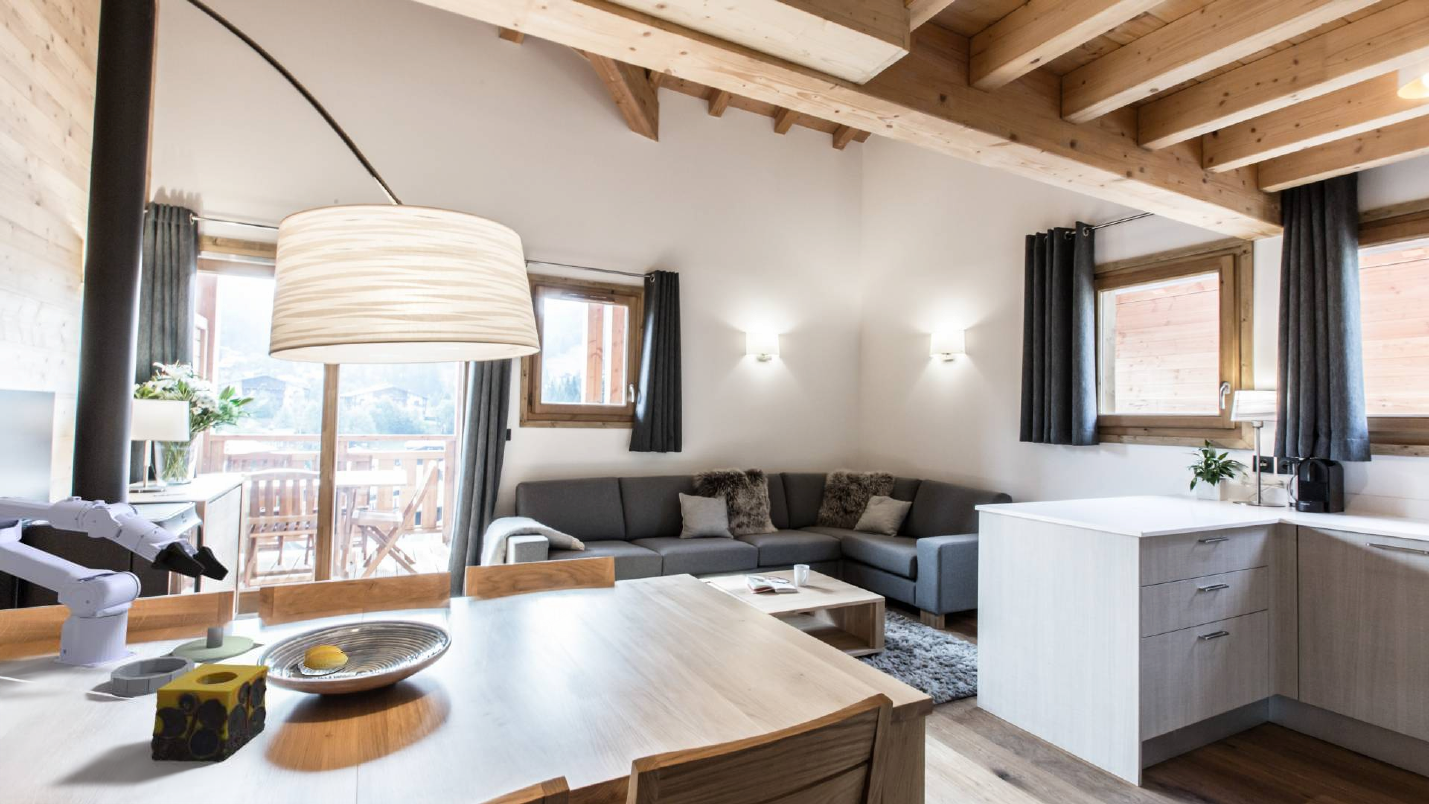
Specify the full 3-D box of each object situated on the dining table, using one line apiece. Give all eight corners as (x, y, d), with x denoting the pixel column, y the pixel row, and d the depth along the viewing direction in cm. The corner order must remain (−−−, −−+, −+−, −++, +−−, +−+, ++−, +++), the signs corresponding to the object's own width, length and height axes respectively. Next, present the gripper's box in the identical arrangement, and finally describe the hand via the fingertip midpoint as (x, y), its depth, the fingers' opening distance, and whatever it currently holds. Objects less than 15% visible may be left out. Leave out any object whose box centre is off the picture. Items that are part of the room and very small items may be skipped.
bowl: (93, 692, 114) (94, 674, 114) (158, 670, 125) (160, 653, 125) (145, 701, 112) (147, 682, 112) (208, 677, 122) (209, 660, 123)
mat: (159, 658, 130) (159, 656, 130) (216, 639, 142) (216, 637, 142) (210, 666, 128) (210, 664, 128) (265, 646, 140) (265, 644, 140)
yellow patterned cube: (197, 729, 103) (202, 662, 104) (266, 729, 104) (271, 664, 105) (147, 762, 93) (152, 688, 94) (224, 763, 94) (230, 690, 94)
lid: (154, 657, 130) (156, 634, 130) (217, 637, 143) (218, 616, 143) (210, 665, 127) (212, 641, 127) (269, 644, 140) (270, 622, 140)
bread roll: (302, 681, 124) (304, 659, 124) (294, 666, 130) (295, 645, 131) (353, 672, 129) (354, 650, 129) (341, 658, 136) (343, 638, 136)
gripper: (140, 517, 123) (204, 551, 123) (189, 527, 137) (247, 558, 136) (111, 552, 121) (177, 587, 120) (164, 559, 135) (223, 591, 134)
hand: (212, 574), depth 128 cm, fingers open, 7 cm apart
